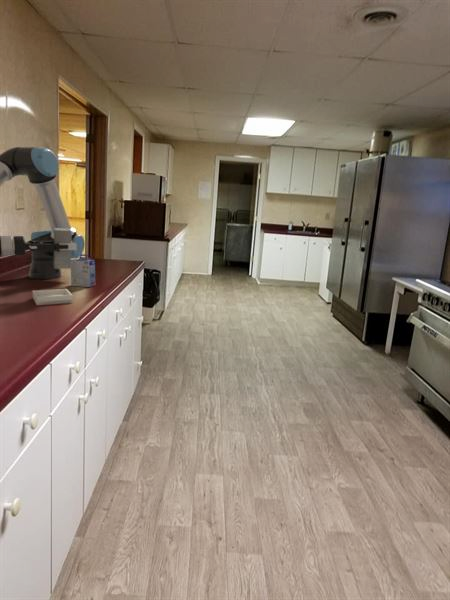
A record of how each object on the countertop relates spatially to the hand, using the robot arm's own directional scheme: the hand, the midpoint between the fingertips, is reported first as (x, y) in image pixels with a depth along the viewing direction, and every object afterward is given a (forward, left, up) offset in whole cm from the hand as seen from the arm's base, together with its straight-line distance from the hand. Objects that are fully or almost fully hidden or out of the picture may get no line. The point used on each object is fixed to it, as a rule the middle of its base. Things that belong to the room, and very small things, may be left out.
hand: (74, 245), depth 176 cm
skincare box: (0, -5, -9) cm, 10 cm away
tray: (+9, -11, -21) cm, 25 cm away
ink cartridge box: (-17, +6, -21) cm, 28 cm away
